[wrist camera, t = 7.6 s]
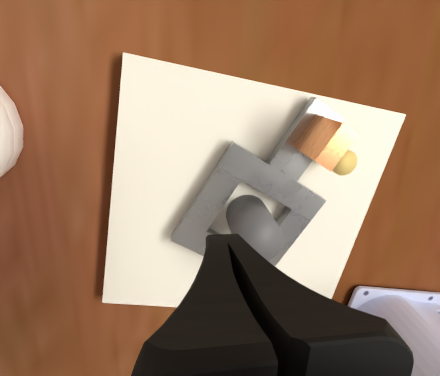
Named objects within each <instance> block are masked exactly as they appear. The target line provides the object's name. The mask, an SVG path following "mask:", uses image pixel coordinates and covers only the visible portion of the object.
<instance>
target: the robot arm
mask: <svg viewBox="0 0 440 376" xmlns="http://www.w3.org/2000/svg"><path fill="white" fill-rule="evenodd" d="M131 376H440V293H439V292H427V291H416V290H404V289H392V288H380V287H368V286H358V287H356V288H355V289H354V292H353V294H352V296H351V299H350V301H349V303H348V306H346V305H344V304H341V303H339V302H336V301H334V300H332V299H330V298H327V297H325V296H323V295H321V294H319V293H317V292H315V291H313V290H311V289H309V288H307V287H306V286H304V285H302V284H300V283H299V282H297V281H295V280H294V279H292V278H291V277H289V276H288V275H286V274H285V273H283V272H282V271H280V270H279V269H278V268H276V267H275V266H274V265H272V264H271V263H270V262H269V261H267V260H266V259H265V258H264V257H263V256H261V255H260V254H259V253H258V252H257V251H256V250H255V249H254V248H252V247H251V246H250V245H249V244H248V243H247V242H246V241H245V240H244V239H243V238H242V237H241V236H240V235H239V234H215V235H208V236H207V237H206V249H205V253H204V257H203V260H202V263H201V266H200V268H199V270H198V273H197V275H196V277H195V279H194V281H193V283H192V285H191V287H190V289H189V291H188V292H187V294H186V295H185V297H184V298H183V300H182V301H181V303H180V304H179V306H178V307H177V308H176V310H175V311H174V312H173V313H172V314H171V316H170V317H169V318H168V319H167V320H166V322H165V323H164V324H163V325H162V326H161V327H160V328H159V329H158V330H157V331H156V332H155V333H154V334H153V335H152V336H151V337H150V338H149V339H148V340H146V341H145V342H144V344H143V347H142V349H141V351H140V354H139V356H138V358H137V361H136V363H135V366H134V369H133V372H132V375H131Z"/></svg>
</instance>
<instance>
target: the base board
mask: <svg viewBox="0 0 440 376" xmlns="http://www.w3.org/2000/svg"><path fill="white" fill-rule="evenodd" d="M310 97H316V98H317V99H319V100H320V101H321V102H323V103H324V104H325V105H327V106H328V107H329V108H331V109H332V110H333V111H334V112H336V113H337V114H338V115H340V116H341V117H342V118H344V119H343V120H342V123H344V124H345V125H347V126H348V127H349V128H351V129H352V130H353V131H355V132H356V133H357V134H359V136H358V137H357V138H356V140H355V141H354V142H353V143H352V145H351V146H350V147H349V149H348V150H347V151H346V153H345V154H344V155H343V157H342V158H341V159H340V160H339V162H338V163H337V164H336V166H335V167H334V168H333V170H332V171H329V170H328V169H326V168H324V167H323V166H321V165H320V164H318V163H317V162H315V161H314V160H313V161H312V162H311V164H310V165H309V166H308V168H307V169H306V170H305V172H304V173H303V174H302V176H301V177H300V178H299V180H298V182H299V183H301V184H303V185H304V186H306V187H307V188H309V189H311V190H312V191H314V192H315V193H317V194H319V195H320V196H322V197H323V198H324V199H325V200H326V202H325V203H324V205H323V206H322V207H321V209H320V210H319V211H318V212H317V214H316V215H315V216H314V217H313V219H312V220H311V221H310V223H309V224H308V225H307V226H306V228H305V229H304V230H303V232H302V233H301V234H300V235H299V237H298V238H297V239H296V240H295V242H294V243H293V244H292V246H291V247H290V248H289V249H288V251H287V252H286V253H285V255H284V256H283V257H282V258H281V260H280V261H279V262H278V263H277V265H276V266H275V267H276V268H278V269H279V270H280V271H282V272H283V273H285V274H286V275H288V276H289V277H291V278H292V279H294V280H295V281H297V282H299V283H300V284H302V285H304V286H306V287H307V288H309V289H311V290H313V291H315V292H317V293H319V294H321V295H323V296H325V297H327V298H330V299H332V296H333V294H334V291H335V289H336V286H337V284H338V281H339V279H340V277H341V274H342V272H343V269H344V267H345V264H346V262H347V259H348V257H349V254H350V252H351V249H352V247H353V244H354V242H355V239H356V237H357V235H358V232H359V230H360V227H361V225H362V222H363V220H364V217H365V215H366V212H367V210H368V207H369V205H370V202H371V200H372V197H373V195H374V193H375V190H376V188H377V185H378V183H379V180H380V178H381V175H382V173H383V170H384V168H385V165H386V163H387V160H388V158H389V155H390V153H391V151H392V148H393V146H394V143H395V141H396V138H397V136H398V133H399V131H400V128H401V126H402V123H403V121H404V118H405V116H406V114H402V113H397V112H393V111H388V110H384V109H379V108H374V107H370V106H365V105H361V104H356V103H352V102H347V101H342V100H338V99H333V98H329V97H324V96H320V95H315V94H311V93H306V92H301V91H297V90H292V89H288V88H283V87H279V86H274V85H269V84H265V83H260V82H256V81H251V80H247V79H242V78H238V77H233V76H228V75H224V74H219V73H215V72H210V71H206V70H201V69H196V68H192V67H187V66H183V65H178V64H174V63H169V62H165V61H160V60H155V59H151V58H146V57H142V56H137V55H133V54H128V53H123V60H122V72H121V84H120V96H119V108H118V120H117V132H116V144H115V156H114V167H113V179H112V191H111V203H110V215H109V227H108V239H107V251H106V263H105V275H104V287H103V299H102V303H116V304H132V305H149V306H165V307H178V306H179V304H180V303H181V301H182V300H183V298H184V297H185V295H186V294H187V292H188V291H189V289H190V287H191V285H192V283H193V281H194V279H195V277H196V275H197V273H198V270H199V268H200V266H201V263H202V260H203V257H204V256H202V255H200V254H198V253H196V252H194V251H191V250H189V249H187V248H185V247H183V246H181V245H179V244H176V243H174V242H172V241H170V240H171V234H172V232H173V231H174V229H175V227H176V226H177V224H178V223H179V221H180V220H181V218H182V217H183V215H184V214H185V212H186V210H187V209H188V207H189V206H190V204H191V203H192V201H193V200H194V198H195V197H196V195H197V194H198V192H199V190H200V189H201V187H202V186H203V184H204V183H205V181H206V180H207V178H208V177H209V175H210V173H211V172H212V170H213V169H214V167H215V166H216V164H217V163H218V161H219V160H220V158H221V156H222V155H223V153H224V152H225V150H226V149H227V147H228V146H229V144H230V143H231V141H234V142H236V143H237V144H239V145H240V146H242V147H244V148H245V149H247V150H248V151H250V152H252V153H253V154H255V155H256V156H258V157H260V158H261V159H263V160H264V161H266V160H267V159H268V157H269V156H270V155H271V153H272V152H273V150H274V149H275V147H276V146H277V145H278V143H279V142H280V140H281V139H282V137H283V136H284V134H285V133H286V132H287V130H288V129H289V127H290V126H291V124H292V123H293V121H294V120H295V119H296V117H297V116H298V114H299V113H300V111H301V110H302V108H303V107H304V106H305V104H306V103H307V101H308V100H309V98H310ZM286 207H287V206H285V205H283V204H282V203H280V202H278V201H277V200H275V199H273V198H271V197H270V196H268V195H266V194H265V193H263V192H261V191H259V190H258V189H256V188H254V187H253V186H251V185H249V184H247V183H246V182H244V181H242V180H241V181H240V183H239V184H238V186H237V187H236V189H235V190H234V192H233V193H232V195H231V196H230V198H229V199H228V200H227V202H226V203H225V205H224V206H223V208H222V209H221V211H220V212H219V214H218V215H217V217H216V218H215V220H214V221H213V222H212V224H211V225H210V227H209V228H210V229H212V230H214V231H216V232H218V233H220V234H239V235H240V236H241V237H242V238H243V239H244V240H245V241H246V242H247V243H248V244H249V245H250V246H251V247H252V248H254V249H255V250H256V251H257V252H258V253H259V254H260V255H261V256H263V257H264V258H265V259H266V260H267V261H269V260H271V259H272V258H274V257H275V256H276V255H277V254H278V253H279V252H280V250H281V249H282V246H283V243H284V235H283V232H282V230H281V228H280V227H279V225H278V224H277V222H276V221H277V219H278V218H279V217H280V215H281V214H282V213H283V211H284V210H285V208H286Z"/></svg>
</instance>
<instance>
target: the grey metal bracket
mask: <svg viewBox="0 0 440 376" xmlns="http://www.w3.org/2000/svg"><path fill="white" fill-rule="evenodd" d="M343 119H344V118H342V117H341V116H340V115H338V114H337V113H336V112H334V111H333V110H332V109H331V108H329V107H328V106H327V105H325V104H324V103H323V102H321V101H320V100H319V99H317V98H316V97H310V98H309V100H308V101H307V103H306V104H305V106H304V107H303V108H302V110H301V111H300V113H299V114H298V116H297V117H296V119H295V120H294V121H293V123H292V124H291V126H290V127H289V129H288V130H287V132H286V133H285V134H284V136H283V137H282V139H281V140H280V142H279V143H278V145H277V146H276V147H275V149H274V150H273V152H272V153H271V155H270V156H269V157H268V159H267V160H266V161H264V160H263V159H261V158H260V157H258V156H256V155H255V154H253V153H252V152H250V151H248V150H247V149H245V148H244V147H242V146H240V145H239V144H237V143H236V142H234V141H231V143H230V144H229V146H228V147H227V149H226V150H225V152H224V153H223V155H222V156H221V158H220V160H219V161H218V163H217V164H216V166H215V167H214V169H213V170H212V172H211V173H210V175H209V177H208V178H207V180H206V181H205V183H204V184H203V186H202V187H201V189H200V190H199V192H198V194H197V195H196V197H195V198H194V200H193V201H192V203H191V204H190V206H189V207H188V209H187V210H186V212H185V214H184V215H183V217H182V218H181V220H180V221H179V223H178V224H177V226H176V227H175V229H174V231H173V232H172V234H171V240H170V241H172V242H174V243H176V244H179V245H181V246H183V247H185V248H187V249H189V250H191V251H194V252H196V253H198V254H200V255H202V256H204V253H205V249H206V237H207V236H208V235H215V234H220V233H218V232H216V231H214V230H212V229H210V228H209V227H210V225H211V224H212V222H213V221H214V220H215V218H216V217H217V215H218V214H219V212H220V211H221V209H222V208H223V206H224V205H225V203H226V202H227V200H228V199H229V198H230V196H231V195H232V193H233V192H234V190H235V189H236V187H237V186H238V184H239V183H240V181H241V180H242V181H244V182H246V183H247V184H249V185H251V186H253V187H254V188H256V189H258V190H259V191H261V192H263V193H265V194H266V195H268V196H270V197H271V198H273V199H275V200H277V201H278V202H280V203H282V204H283V205H285V206H287V207H286V208H285V210H284V211H283V213H282V214H281V215H280V217H279V218H278V219H277V221H276V222H277V224H278V225H279V227H280V228H281V230H282V232H283V235H284V243H283V246H282V249H281V250H280V252H279V253H278V254H277V255H276V256H275V257H274V258H272V259H271V260H269V262H270V263H271V264H272V265H274V266H276V265H277V263H278V262H279V261H280V260H281V258H282V257H283V256H284V255H285V253H286V252H287V251H288V249H289V248H290V247H291V246H292V244H293V243H294V242H295V240H296V239H297V238H298V237H299V235H300V234H301V233H302V232H303V230H304V229H305V228H306V226H307V225H308V224H309V223H310V221H311V220H312V219H313V217H314V216H315V215H316V214H317V212H318V211H319V210H320V209H321V207H322V206H323V205H324V203H325V202H326V200H325V199H324V198H323V197H322V196H320V195H319V194H317V193H315V192H314V191H312V190H311V189H309V188H307V187H306V186H304V185H303V184H301V183H299V182H298V180H299V178H300V177H301V176H302V174H303V173H304V172H305V170H306V169H307V168H308V166H309V165H310V164H311V162H312V161H313V160H314V161H315V162H317V163H318V164H320V165H321V166H323V167H324V168H326V169H328V170H329V171H332V170H333V168H334V167H335V166H336V164H337V163H338V162H339V160H340V159H341V158H342V157H343V155H344V154H345V153H346V151H347V150H348V149H349V147H350V146H351V145H352V143H353V142H354V141H355V140H356V138H357V137H358V136H359V134H357V133H356V132H355V131H353V130H352V129H351V128H349V127H348V126H347V125H345V124H344V123H342V120H343Z"/></svg>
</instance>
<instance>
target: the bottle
mask: <svg viewBox="0 0 440 376" xmlns="http://www.w3.org/2000/svg"><path fill="white" fill-rule="evenodd" d="M22 148H23V125H22V122H21V119H20V117H19V114H18V111H17V109H16V106H15V104H14V102H13V101H12V100H11V99H10V97H9V96H8V95H7V93H6V92H5V91H4V90H3V88H2V87H1V86H0V178H1V177H2V176H3V175H4V174H5V173H6V172H7V171H9V170H10V169H11V168H12V167H13V166H14V165H15V164H16V162H17V160H18V157H19V155H20V153H21V151H22Z"/></svg>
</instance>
